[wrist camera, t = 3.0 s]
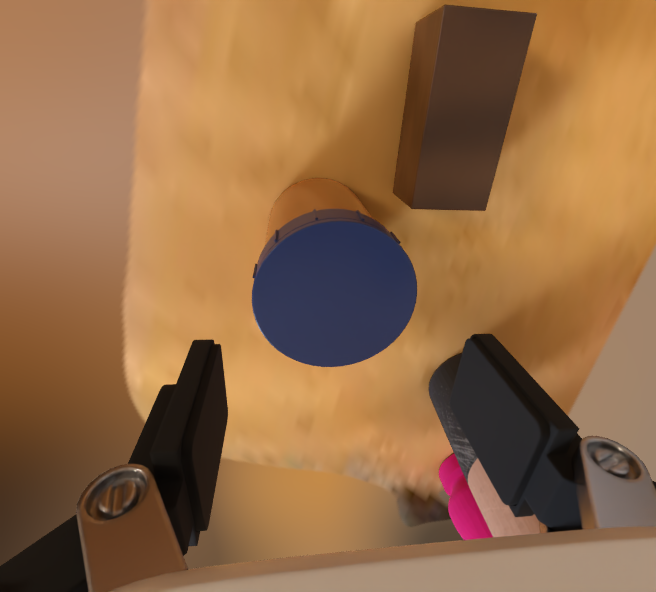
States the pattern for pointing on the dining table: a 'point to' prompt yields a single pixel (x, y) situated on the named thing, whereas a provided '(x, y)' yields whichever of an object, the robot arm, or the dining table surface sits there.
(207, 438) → the robot arm
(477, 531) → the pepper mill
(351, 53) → the dining table surface
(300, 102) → the dining table surface
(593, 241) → the dining table surface
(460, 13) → the stand
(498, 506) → the travel mug
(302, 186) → the jam jar
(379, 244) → the jar lid
